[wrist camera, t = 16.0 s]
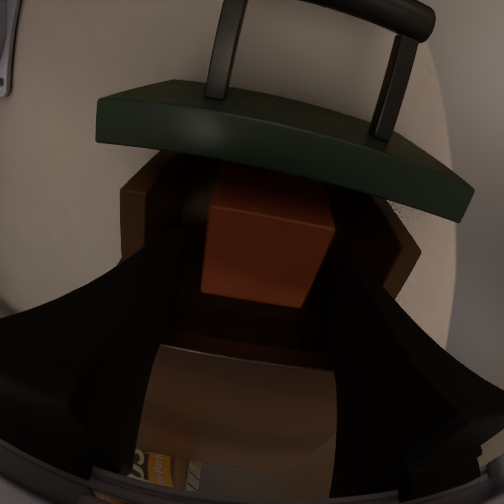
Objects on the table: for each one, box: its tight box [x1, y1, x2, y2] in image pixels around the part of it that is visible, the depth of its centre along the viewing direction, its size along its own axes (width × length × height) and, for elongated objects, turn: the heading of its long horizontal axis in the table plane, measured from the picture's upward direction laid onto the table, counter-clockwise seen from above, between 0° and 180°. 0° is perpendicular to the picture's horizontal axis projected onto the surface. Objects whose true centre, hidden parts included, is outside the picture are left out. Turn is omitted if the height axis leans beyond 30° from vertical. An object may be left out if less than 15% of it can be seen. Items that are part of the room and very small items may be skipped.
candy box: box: [92, 448, 201, 504], centre depth 23 cm, size 9×4×15 cm, turn 97°
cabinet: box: [118, 258, 337, 471], centre depth 17 cm, size 14×12×9 cm
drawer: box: [95, 0, 475, 354], centre depth 12 cm, size 17×10×7 cm, turn 168°
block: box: [200, 161, 335, 309], centre depth 12 cm, size 4×4×4 cm
